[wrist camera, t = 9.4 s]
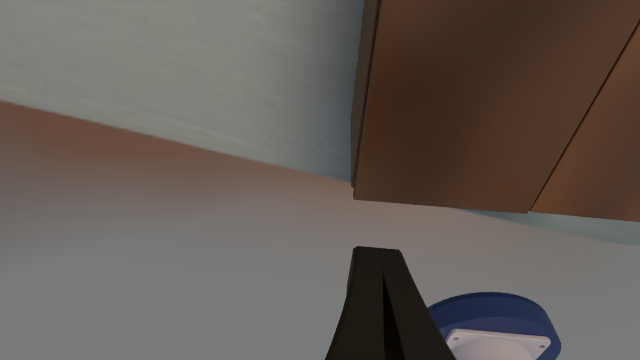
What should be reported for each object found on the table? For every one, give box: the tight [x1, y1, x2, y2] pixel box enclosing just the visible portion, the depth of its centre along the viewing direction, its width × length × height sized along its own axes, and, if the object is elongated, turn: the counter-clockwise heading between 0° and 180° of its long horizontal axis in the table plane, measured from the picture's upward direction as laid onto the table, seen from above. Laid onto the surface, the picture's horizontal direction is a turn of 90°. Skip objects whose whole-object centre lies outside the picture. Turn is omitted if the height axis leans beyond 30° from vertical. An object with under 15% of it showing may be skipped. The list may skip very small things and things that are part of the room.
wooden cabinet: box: [351, 0, 640, 214], centre depth 12 cm, size 14×12×7 cm
